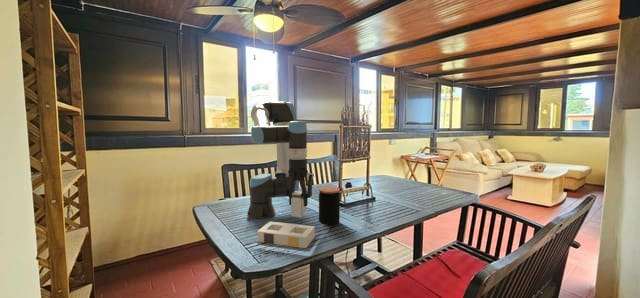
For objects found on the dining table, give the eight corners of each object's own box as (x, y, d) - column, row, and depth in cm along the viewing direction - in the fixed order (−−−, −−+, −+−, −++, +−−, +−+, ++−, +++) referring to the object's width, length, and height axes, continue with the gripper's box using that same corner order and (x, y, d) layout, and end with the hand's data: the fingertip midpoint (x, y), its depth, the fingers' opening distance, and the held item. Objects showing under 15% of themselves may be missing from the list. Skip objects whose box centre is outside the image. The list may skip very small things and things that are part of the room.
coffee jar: (327, 217, 150) (327, 185, 148) (343, 222, 143) (343, 188, 141) (314, 223, 142) (314, 189, 140) (331, 228, 135) (331, 192, 133)
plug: (292, 216, 116) (291, 193, 115) (295, 213, 120) (295, 190, 119) (301, 217, 114) (301, 193, 113) (304, 214, 118) (304, 191, 117)
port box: (257, 245, 117) (256, 231, 117) (270, 233, 129) (270, 221, 128) (305, 252, 111) (305, 237, 110) (315, 239, 123) (315, 226, 122)
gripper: (275, 158, 114) (276, 213, 116) (314, 160, 109) (314, 217, 111) (282, 156, 121) (283, 208, 123) (320, 157, 116) (320, 212, 118)
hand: (298, 212), depth 117 cm, fingers closed on plug, 4 cm apart
